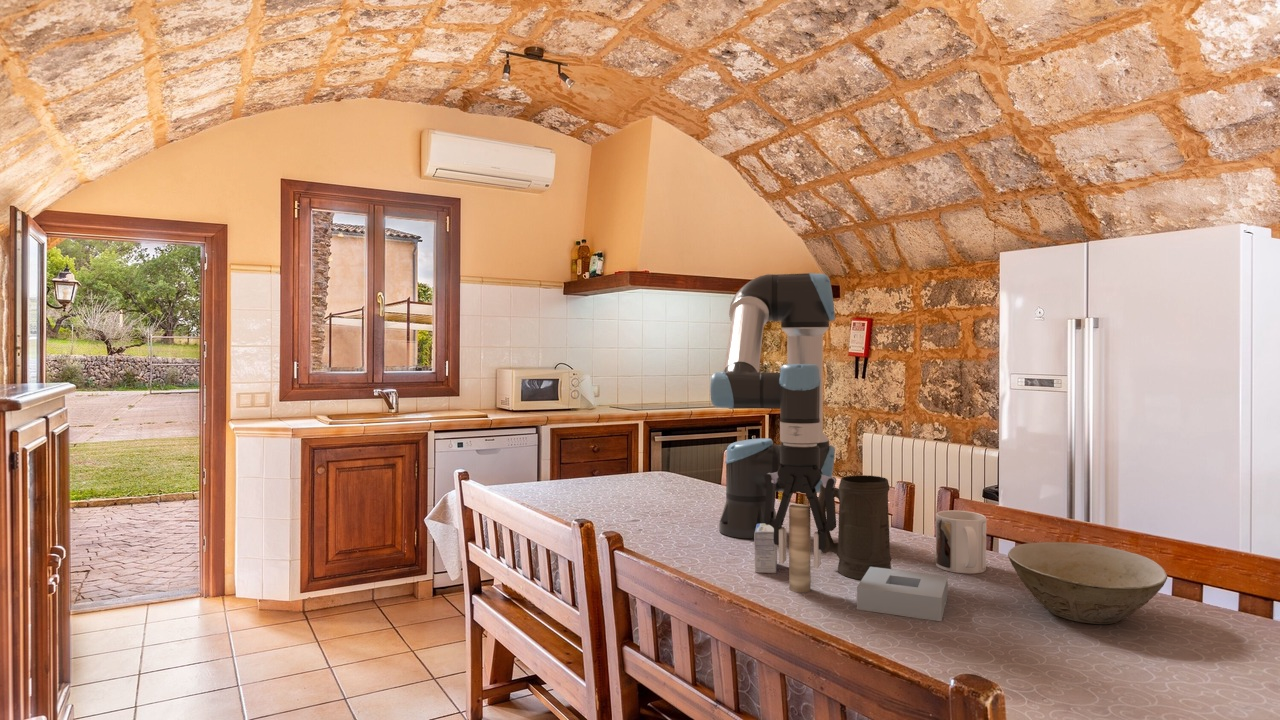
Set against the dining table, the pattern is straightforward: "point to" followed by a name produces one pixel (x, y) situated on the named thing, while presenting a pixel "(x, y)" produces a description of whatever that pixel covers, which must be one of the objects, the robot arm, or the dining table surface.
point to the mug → (961, 541)
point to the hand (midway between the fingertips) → (799, 563)
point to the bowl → (1087, 579)
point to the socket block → (903, 593)
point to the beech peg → (799, 548)
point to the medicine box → (765, 549)
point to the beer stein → (860, 525)
